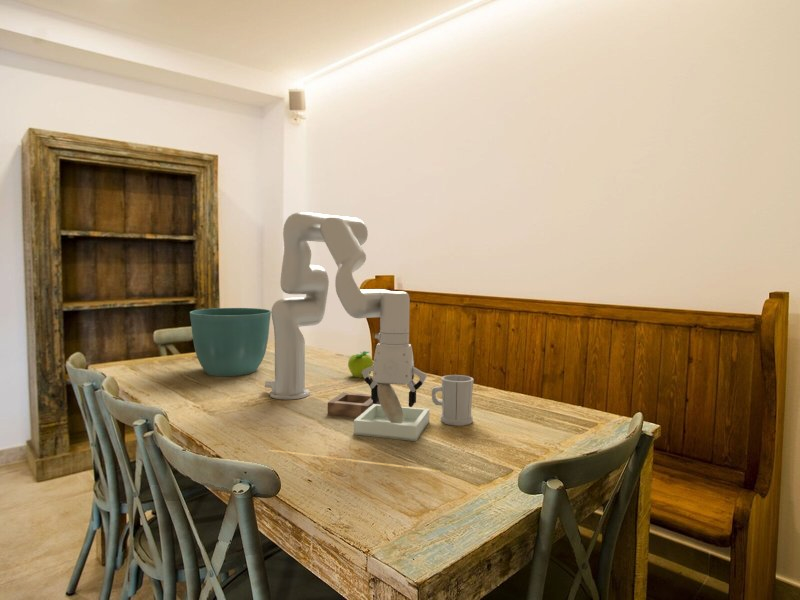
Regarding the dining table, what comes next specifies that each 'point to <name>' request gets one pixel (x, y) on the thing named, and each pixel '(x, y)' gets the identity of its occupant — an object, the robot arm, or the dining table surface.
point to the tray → (380, 426)
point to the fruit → (359, 364)
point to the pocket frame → (350, 404)
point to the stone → (390, 403)
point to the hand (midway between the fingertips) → (393, 404)
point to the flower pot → (230, 339)
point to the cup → (455, 399)
